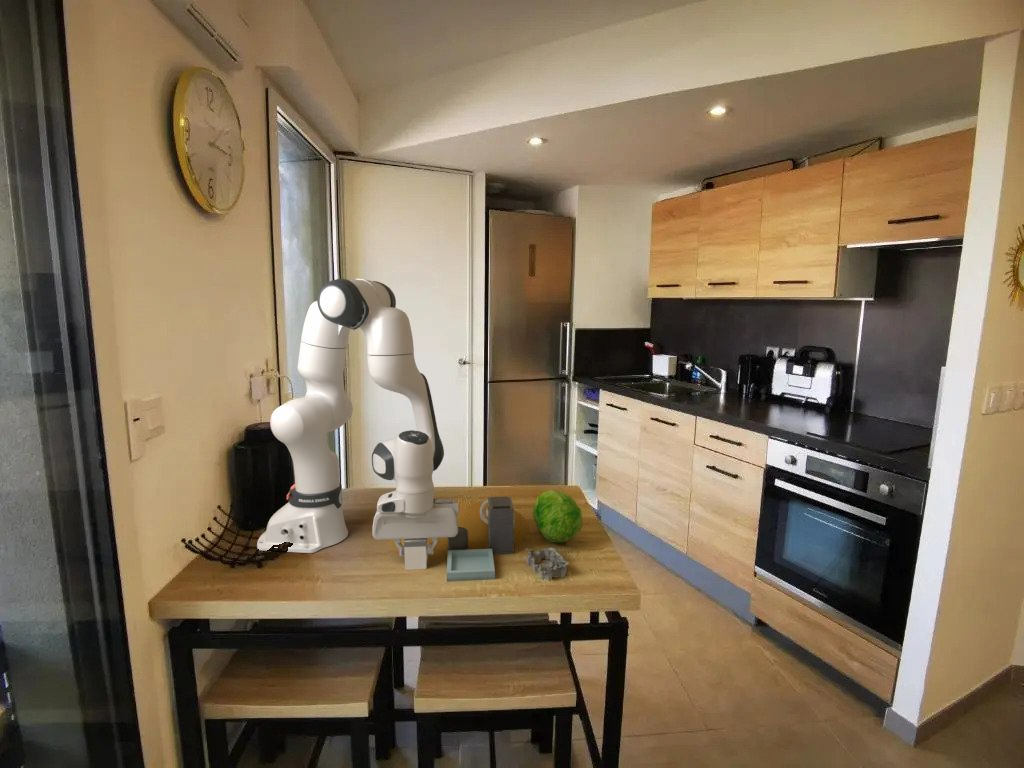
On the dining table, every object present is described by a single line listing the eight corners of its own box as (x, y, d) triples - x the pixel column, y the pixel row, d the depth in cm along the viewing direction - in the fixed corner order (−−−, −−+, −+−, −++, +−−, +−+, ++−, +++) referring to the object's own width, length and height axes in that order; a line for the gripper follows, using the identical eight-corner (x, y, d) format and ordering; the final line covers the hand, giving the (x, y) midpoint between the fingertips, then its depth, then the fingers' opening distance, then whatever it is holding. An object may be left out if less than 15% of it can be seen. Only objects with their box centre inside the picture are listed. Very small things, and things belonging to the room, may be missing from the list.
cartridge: (404, 569, 124) (404, 542, 122) (406, 559, 129) (406, 532, 127) (426, 569, 124) (426, 541, 123) (428, 558, 129) (427, 532, 128)
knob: (448, 554, 131) (447, 535, 131) (448, 545, 136) (448, 527, 136) (468, 553, 132) (467, 534, 131) (467, 544, 137) (467, 526, 136)
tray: (446, 581, 119) (446, 573, 118) (447, 557, 129) (447, 550, 129) (494, 579, 120) (494, 570, 119) (492, 556, 131) (492, 548, 130)
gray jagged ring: (523, 562, 128) (523, 547, 127) (550, 557, 131) (551, 541, 130) (541, 584, 118) (541, 567, 118) (570, 577, 121) (571, 561, 120)
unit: (488, 554, 131) (488, 507, 130) (487, 540, 139) (487, 495, 137) (514, 553, 132) (515, 506, 130) (511, 539, 140) (511, 495, 138)
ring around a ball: (507, 522, 151) (507, 495, 150) (507, 530, 145) (508, 503, 144) (479, 522, 151) (479, 496, 149) (479, 530, 145) (479, 503, 144)
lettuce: (570, 517, 155) (571, 479, 153) (588, 553, 132) (589, 510, 130) (527, 518, 154) (527, 480, 152) (537, 555, 131) (538, 511, 129)
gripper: (459, 493, 128) (459, 546, 130) (374, 495, 126) (376, 549, 128) (459, 503, 122) (459, 558, 124) (369, 505, 120) (371, 562, 122)
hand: (416, 553), depth 126 cm, fingers closed on cartridge, 5 cm apart
